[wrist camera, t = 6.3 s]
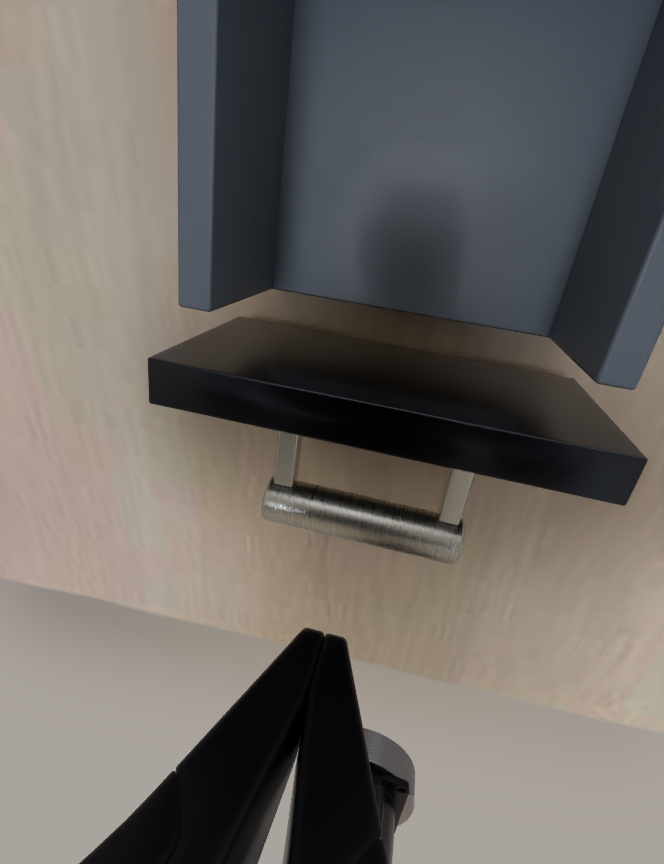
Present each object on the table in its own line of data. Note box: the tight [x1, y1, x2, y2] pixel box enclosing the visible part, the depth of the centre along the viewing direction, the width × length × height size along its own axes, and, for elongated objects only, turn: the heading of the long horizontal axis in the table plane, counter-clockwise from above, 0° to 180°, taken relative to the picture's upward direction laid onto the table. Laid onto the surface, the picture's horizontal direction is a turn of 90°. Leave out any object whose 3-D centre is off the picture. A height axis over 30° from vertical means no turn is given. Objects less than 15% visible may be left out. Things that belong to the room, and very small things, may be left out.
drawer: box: [148, 0, 664, 564], centre depth 10 cm, size 23×11×6 cm, turn 172°
